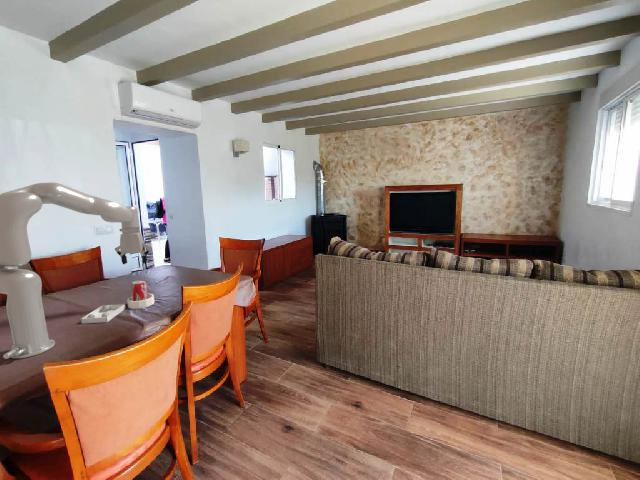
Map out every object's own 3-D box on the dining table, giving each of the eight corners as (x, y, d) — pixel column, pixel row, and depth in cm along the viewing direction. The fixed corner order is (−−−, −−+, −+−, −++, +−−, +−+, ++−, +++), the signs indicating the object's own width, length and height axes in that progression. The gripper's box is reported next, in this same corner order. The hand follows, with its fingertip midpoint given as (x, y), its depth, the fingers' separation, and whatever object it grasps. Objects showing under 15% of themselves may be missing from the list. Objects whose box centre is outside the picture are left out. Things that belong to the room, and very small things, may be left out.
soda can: (141, 306, 154) (138, 284, 152) (130, 305, 155) (127, 283, 153) (151, 301, 161) (149, 280, 159) (140, 300, 162) (138, 279, 160)
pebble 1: (93, 321, 138) (92, 315, 137) (86, 322, 137) (85, 315, 137) (97, 318, 141) (96, 312, 140) (90, 319, 140) (89, 313, 140)
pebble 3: (107, 320, 139) (106, 313, 138) (100, 320, 138) (99, 314, 138) (111, 317, 142) (110, 311, 141) (104, 317, 141) (103, 311, 141)
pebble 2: (108, 312, 148) (107, 306, 148) (101, 312, 148) (100, 306, 148) (111, 309, 151) (110, 304, 151) (105, 310, 151) (104, 304, 151)
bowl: (148, 308, 153) (147, 300, 152) (123, 309, 152) (122, 302, 151) (157, 299, 165) (157, 292, 164) (135, 301, 163) (134, 294, 163)
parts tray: (107, 322, 137) (106, 317, 137) (81, 324, 136) (80, 318, 135) (125, 308, 153) (125, 304, 152) (102, 310, 151) (101, 305, 151)
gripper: (108, 232, 147) (112, 265, 150) (145, 231, 149) (149, 264, 151) (117, 230, 154) (121, 262, 157) (152, 229, 156) (155, 261, 159)
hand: (134, 263), depth 154 cm, fingers open, 9 cm apart
